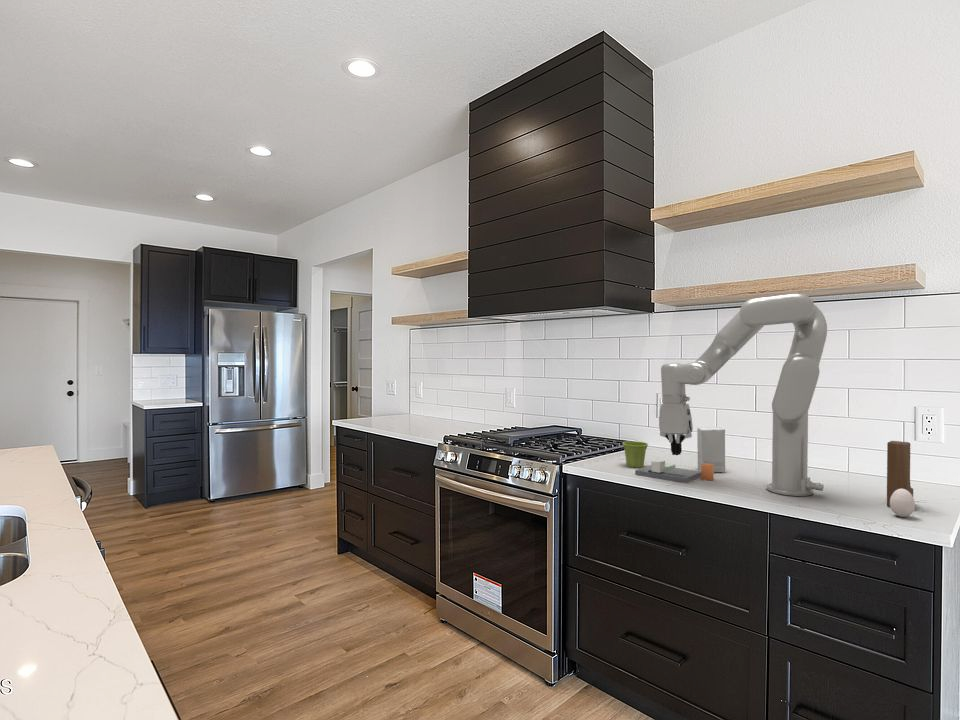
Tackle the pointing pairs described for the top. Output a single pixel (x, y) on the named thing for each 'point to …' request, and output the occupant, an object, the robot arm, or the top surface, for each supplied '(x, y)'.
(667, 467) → the pad
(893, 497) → the egg
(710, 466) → the cap
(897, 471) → the wooden block
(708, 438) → the skincare box
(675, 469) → the breaker board
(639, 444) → the plant pot
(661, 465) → the block
